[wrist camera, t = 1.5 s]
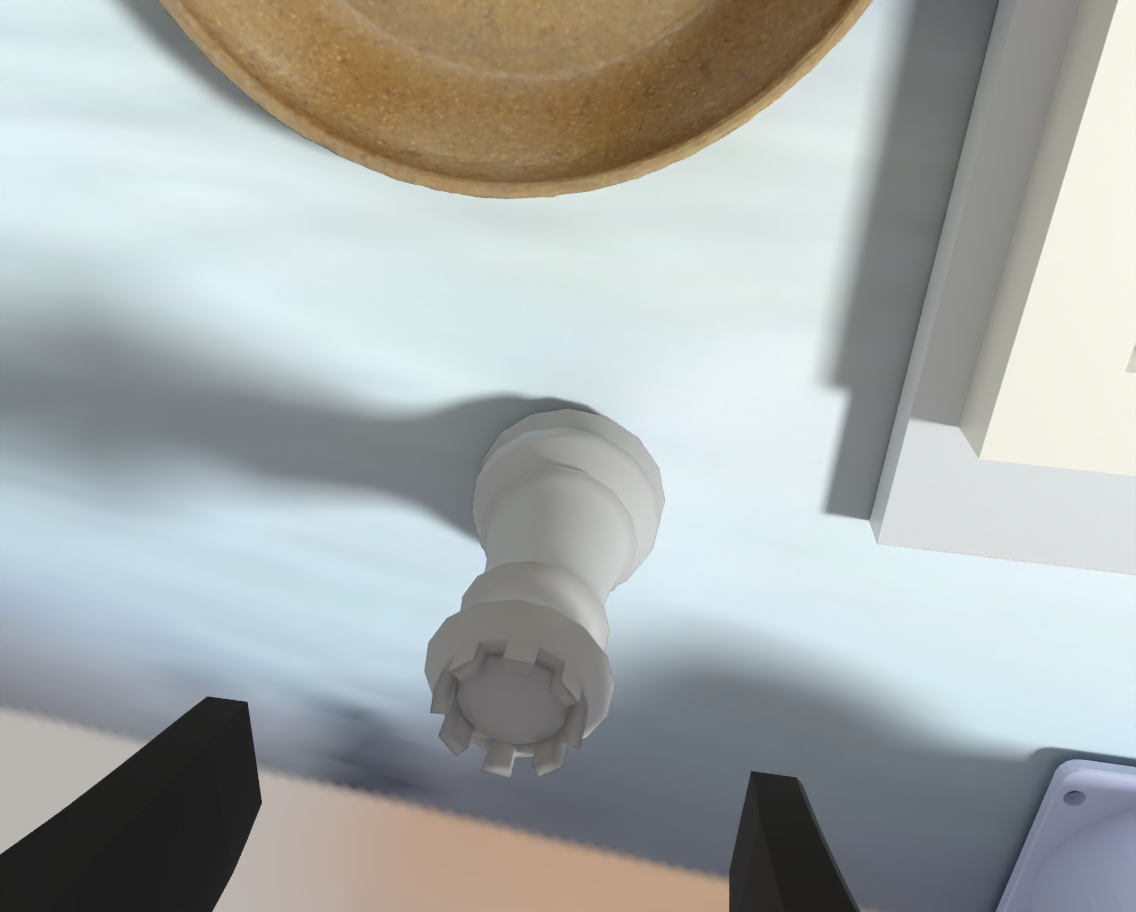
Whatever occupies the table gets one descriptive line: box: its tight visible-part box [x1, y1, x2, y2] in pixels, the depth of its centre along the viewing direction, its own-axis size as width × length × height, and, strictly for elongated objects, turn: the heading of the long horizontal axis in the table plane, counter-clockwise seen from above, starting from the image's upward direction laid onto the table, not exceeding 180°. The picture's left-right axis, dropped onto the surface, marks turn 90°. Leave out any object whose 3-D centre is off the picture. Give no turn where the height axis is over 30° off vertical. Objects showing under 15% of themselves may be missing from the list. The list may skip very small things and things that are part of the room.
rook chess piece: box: [424, 408, 665, 778], centre depth 17 cm, size 4×4×8 cm
